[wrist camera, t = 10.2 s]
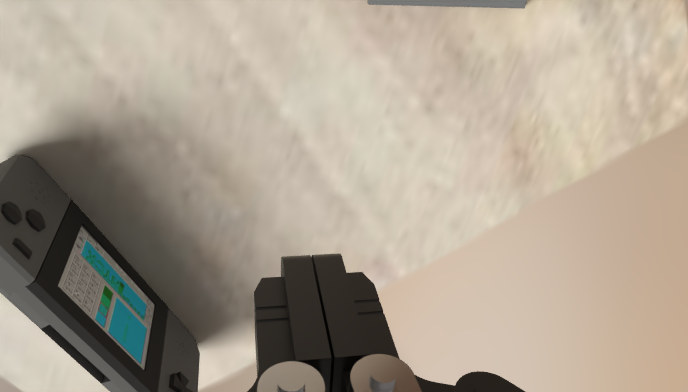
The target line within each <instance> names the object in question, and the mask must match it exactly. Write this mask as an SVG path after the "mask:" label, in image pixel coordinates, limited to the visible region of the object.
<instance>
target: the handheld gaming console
mask: <svg viewBox="0 0 688 392" xmlns="http://www.w3.org/2000/svg"><path fill="white" fill-rule="evenodd" d="M0 293H1V294H2V295H4V296H5V297H6V298H7V299H8V300H9V301H10V302H11V303H12V304H14V305H15V306H16V307H17V308H18V309H19V310H20V311H21V312H22V313H24V314H25V315H26V316H27V317H28V318H29V319H30V320H31V321H32V322H34V323H35V324H36V325H37V326H38V327H39V328H40V329H41V330H42V331H44V332H45V333H46V334H47V335H48V336H49V337H50V338H51V339H52V340H54V341H55V342H56V343H57V344H58V345H59V346H60V347H61V348H62V349H64V350H65V351H66V352H67V353H68V354H69V355H70V356H71V357H72V358H73V359H75V360H76V361H77V362H78V363H79V364H80V365H81V366H82V367H83V368H85V369H86V370H87V371H88V372H89V373H90V374H91V375H92V376H93V377H95V378H96V379H97V380H98V381H99V382H100V383H101V384H102V385H103V386H105V387H106V388H107V389H108V390H109V391H110V392H198V374H199V356H200V353H199V350H198V347H197V344H196V341H195V339H194V338H193V336H192V335H191V334H190V333H189V331H188V330H187V329H186V327H185V326H184V325H183V324H182V323H181V322H180V321H179V320H178V318H177V317H176V316H175V315H174V314H173V313H172V312H171V311H170V310H169V309H168V306H167V305H166V304H165V303H164V302H163V301H162V300H161V299H160V298H159V296H158V295H157V294H156V293H155V292H154V291H153V290H152V289H151V288H150V286H149V285H148V284H147V283H146V282H145V281H144V280H143V279H142V277H141V276H140V275H139V274H138V273H137V272H136V271H135V270H134V269H133V267H132V266H131V265H130V264H129V263H128V262H127V261H126V260H125V259H124V257H123V256H122V255H121V254H120V253H119V252H118V251H117V250H116V249H115V247H114V246H113V245H112V244H111V243H110V242H109V241H108V240H107V239H106V237H105V236H104V235H103V234H102V233H101V232H100V231H99V230H98V229H97V227H96V226H95V225H94V224H93V223H92V222H91V221H90V220H89V218H88V217H87V216H86V215H85V214H84V213H83V212H82V211H81V210H80V208H79V207H78V206H77V205H76V204H75V203H74V202H73V201H71V199H70V198H69V197H68V196H67V195H66V194H65V193H64V191H63V190H62V189H61V188H60V187H59V186H58V185H57V184H56V183H55V181H54V180H53V179H52V178H51V177H50V176H49V175H48V174H47V173H46V172H45V171H44V170H43V169H42V168H41V167H40V166H39V165H38V164H37V163H36V162H35V161H34V160H33V159H32V158H29V157H24V156H13V157H11V158H10V159H8V160H6V161H4V162H2V163H0Z"/></svg>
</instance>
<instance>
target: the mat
mask: <svg viewBox="0 0 688 392" xmlns="http://www.w3.org/2000/svg"><path fill="white" fill-rule="evenodd" d="M368 4H369V5H410V6H450V7H491V8H525V5H526V0H368Z"/></svg>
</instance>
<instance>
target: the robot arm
mask: <svg viewBox="0 0 688 392" xmlns="http://www.w3.org/2000/svg"><path fill="white" fill-rule="evenodd" d="M254 303H255V342H256V360H257V379H256V382H255V383H254V385H253V386H252V388H251V389H250V390H249V391H248V392H525V391H523V390H522V389H520V388H518V387H517V386H515V385H514V384H512V383H510V382H509V381H507V380H505V379H504V378H502V377H500V376H498V375H495V374H492V373H488V372H471V373H468V374H466V375H464V376H462V377H461V378H460V379H459V380H458V381H457V383H456V385H455V386H453V385H447V384H441V383H436V382H431V381H427V380H425V379H422V378H420V377H417V376H416V375H414V373H413V371H412V370H411V368H410V367H409V366H408V365H407V364H406V363H405V362H403V361H402V360H400V359H399V356H398V353H397V351H396V348H395V345H394V342H393V339H392V336H391V333H390V330H389V327H388V324H387V321H386V318H385V315H384V314H383V309H382V307H381V303H380V302H379V297H378V294H377V291H376V288H375V285H374V284H373V283H372V282H371V281H370V280H369V279H368V278H367V277H366V276H365V275H364V274H363V273H362V272H356V273H346V270H345V266H344V263H343V259H342V256H341V254H324V255H312V257H311V256H310V255H307V256H287V257H282V258H281V277H271V278H262V279H261V281H260V283H259V284H258V286H257V288H256V290H255V292H254Z"/></svg>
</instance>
